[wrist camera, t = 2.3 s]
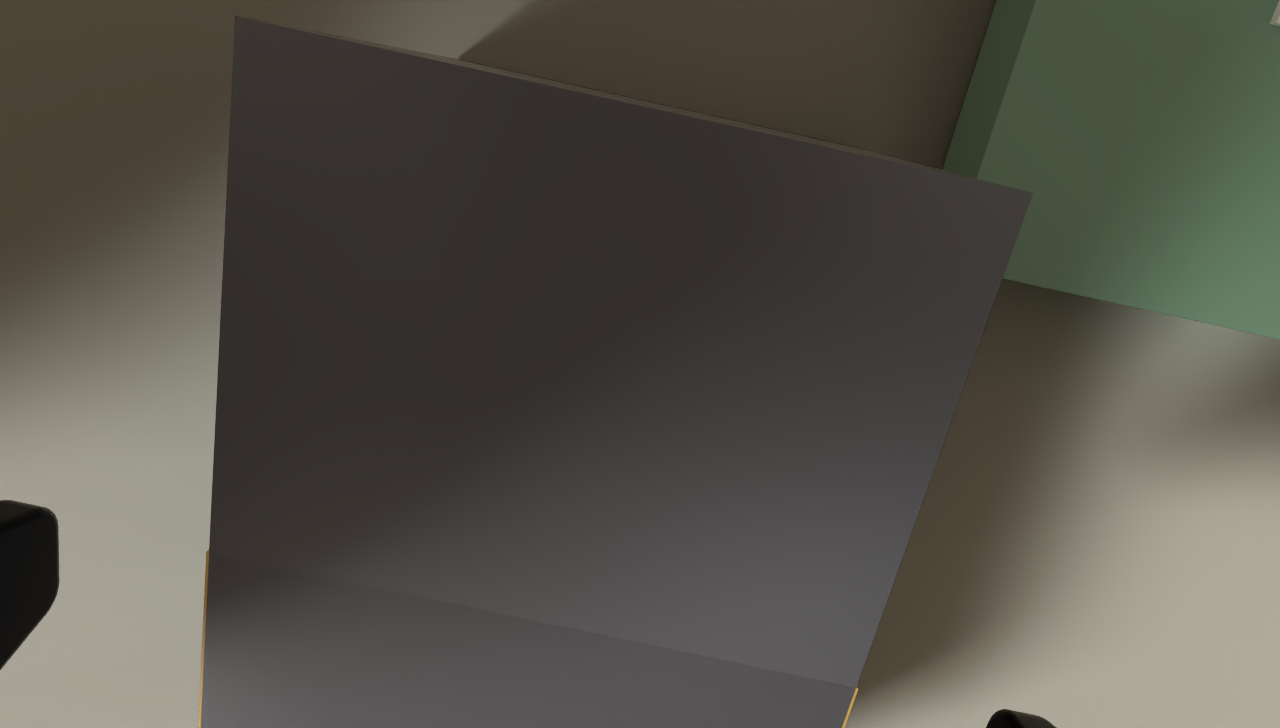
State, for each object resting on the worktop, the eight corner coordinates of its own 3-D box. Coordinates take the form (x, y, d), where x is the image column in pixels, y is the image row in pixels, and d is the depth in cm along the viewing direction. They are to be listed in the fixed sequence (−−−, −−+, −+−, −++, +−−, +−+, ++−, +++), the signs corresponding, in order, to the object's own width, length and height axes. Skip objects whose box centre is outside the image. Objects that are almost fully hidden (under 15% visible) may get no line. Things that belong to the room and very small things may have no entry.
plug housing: (367, 722, 13) (181, 1089, 8) (453, 58, 10) (231, 15, 5) (680, 786, 13) (679, 1188, 8) (863, 149, 10) (1034, 192, 5)
